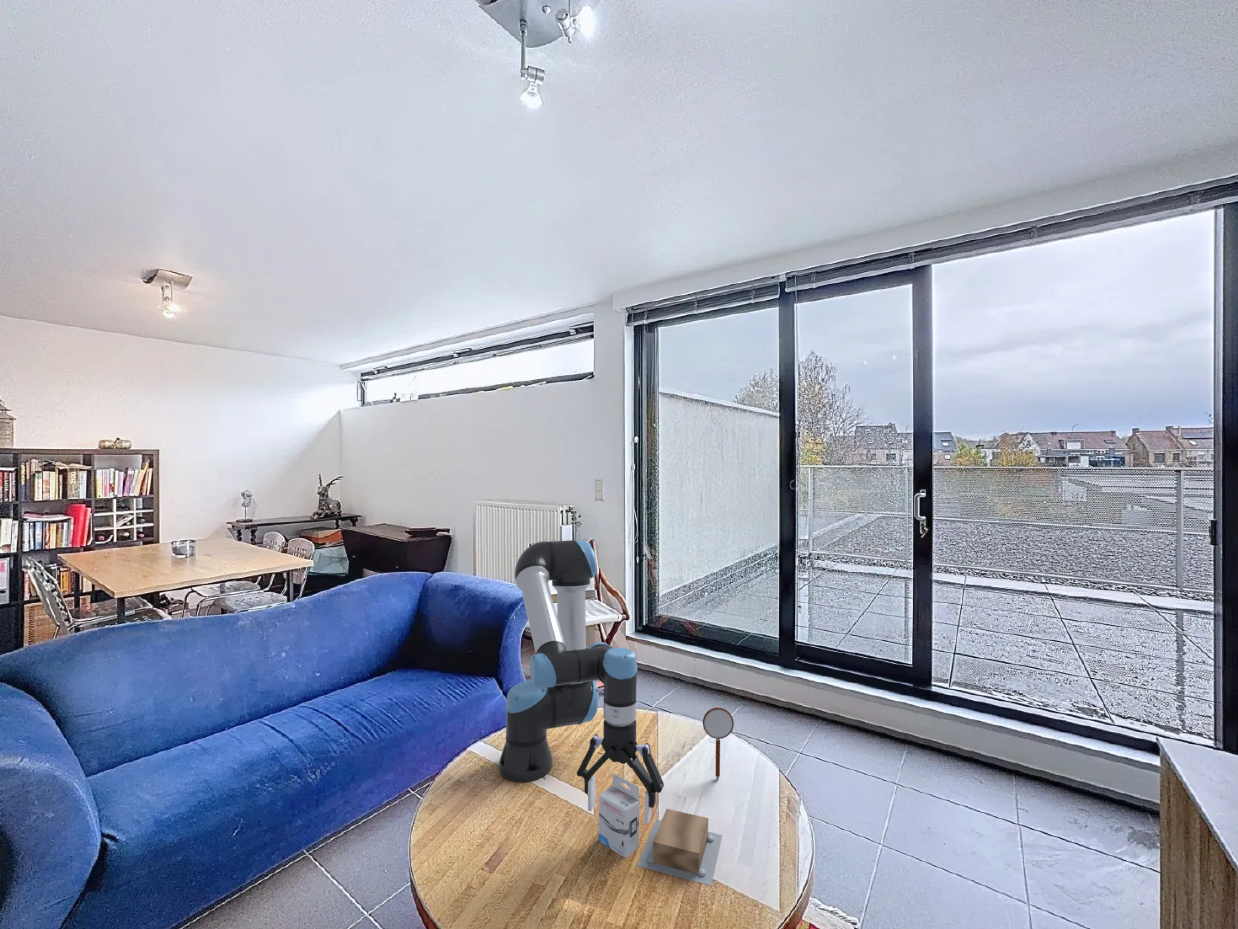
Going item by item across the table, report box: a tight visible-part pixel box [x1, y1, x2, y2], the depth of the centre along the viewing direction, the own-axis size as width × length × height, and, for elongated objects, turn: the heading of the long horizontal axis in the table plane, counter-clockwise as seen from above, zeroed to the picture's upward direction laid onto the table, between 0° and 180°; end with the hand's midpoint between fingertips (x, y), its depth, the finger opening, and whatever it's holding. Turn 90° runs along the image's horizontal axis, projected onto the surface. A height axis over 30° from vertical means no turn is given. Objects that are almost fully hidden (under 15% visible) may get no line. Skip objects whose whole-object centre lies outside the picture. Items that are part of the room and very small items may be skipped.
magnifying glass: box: [702, 707, 735, 780], centre depth 148 cm, size 9×2×20 cm, turn 87°
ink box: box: [598, 773, 640, 859], centre depth 120 cm, size 9×5×15 cm, turn 49°
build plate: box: [636, 819, 723, 886], centre depth 119 cm, size 16×16×2 cm
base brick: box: [653, 808, 709, 874], centre depth 119 cm, size 10×12×4 cm
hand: (619, 814), depth 120 cm, fingers open, 13 cm apart
